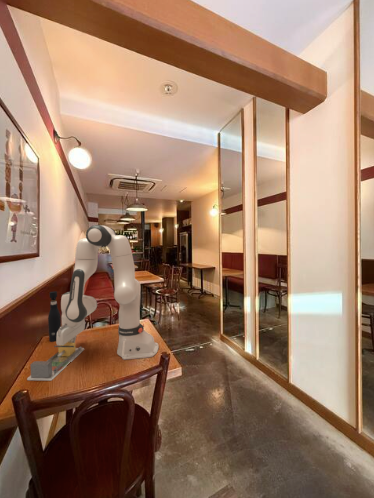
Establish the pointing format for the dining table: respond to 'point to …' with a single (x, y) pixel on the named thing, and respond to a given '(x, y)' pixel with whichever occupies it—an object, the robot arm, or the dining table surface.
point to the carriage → (66, 349)
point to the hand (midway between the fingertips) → (72, 345)
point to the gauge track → (51, 366)
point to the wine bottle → (53, 318)
